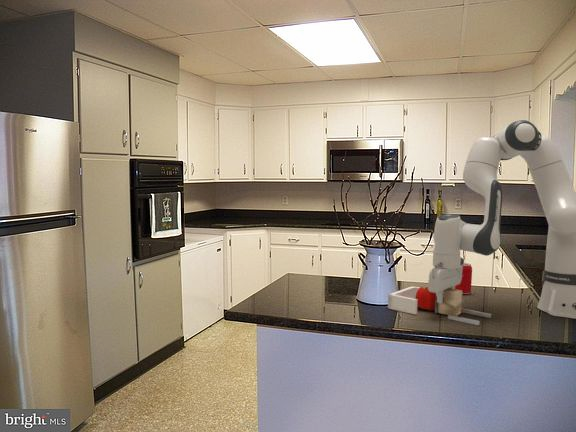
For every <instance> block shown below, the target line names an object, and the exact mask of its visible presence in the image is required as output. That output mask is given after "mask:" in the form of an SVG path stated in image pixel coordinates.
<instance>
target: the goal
mask: <svg viewBox="0 0 576 432" xmlns="http://www.w3.org/2000/svg"><path fill="white" fill-rule="evenodd" d="M420 287H421V286H420ZM420 287H419V286H409V287H406V288H403V289H400V290H398V291H394V292H392V293H390V294H388V296H387V297H388V299H387V300H388V301H387V309H389V310H393V311H398V312H403V313H408V314H411V315H417V314H418V305H417V301H418V299H415V298H416V293H417V290H418V289H419V288H420Z"/></svg>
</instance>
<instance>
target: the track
mask: <svg viewBox="0 0 576 432" xmlns="http://www.w3.org/2000/svg"><path fill="white" fill-rule="evenodd" d="M461 313H464V314H469V315H473V316H478V317H482V318H487V319H491V318H492V313H487V312H483V311H477V310H474V309H473V310H472V309H468V308H462V307H461ZM447 319H448V320H452V321H456V322H460V323H464V324H465V323H466V324H471V325H474V326H480V323H481V322H480V320H478V319H477V320H476V319H473V318H472V319H471V318H467V317H461V316H459V315H457V316H453V315H447Z"/></svg>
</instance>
